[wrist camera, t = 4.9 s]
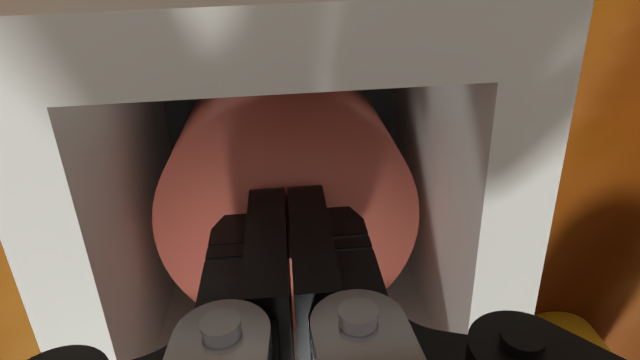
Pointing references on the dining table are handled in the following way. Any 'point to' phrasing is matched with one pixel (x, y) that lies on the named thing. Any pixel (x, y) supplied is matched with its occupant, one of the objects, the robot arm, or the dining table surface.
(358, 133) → the button
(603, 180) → the dining table surface
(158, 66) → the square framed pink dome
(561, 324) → the cap
